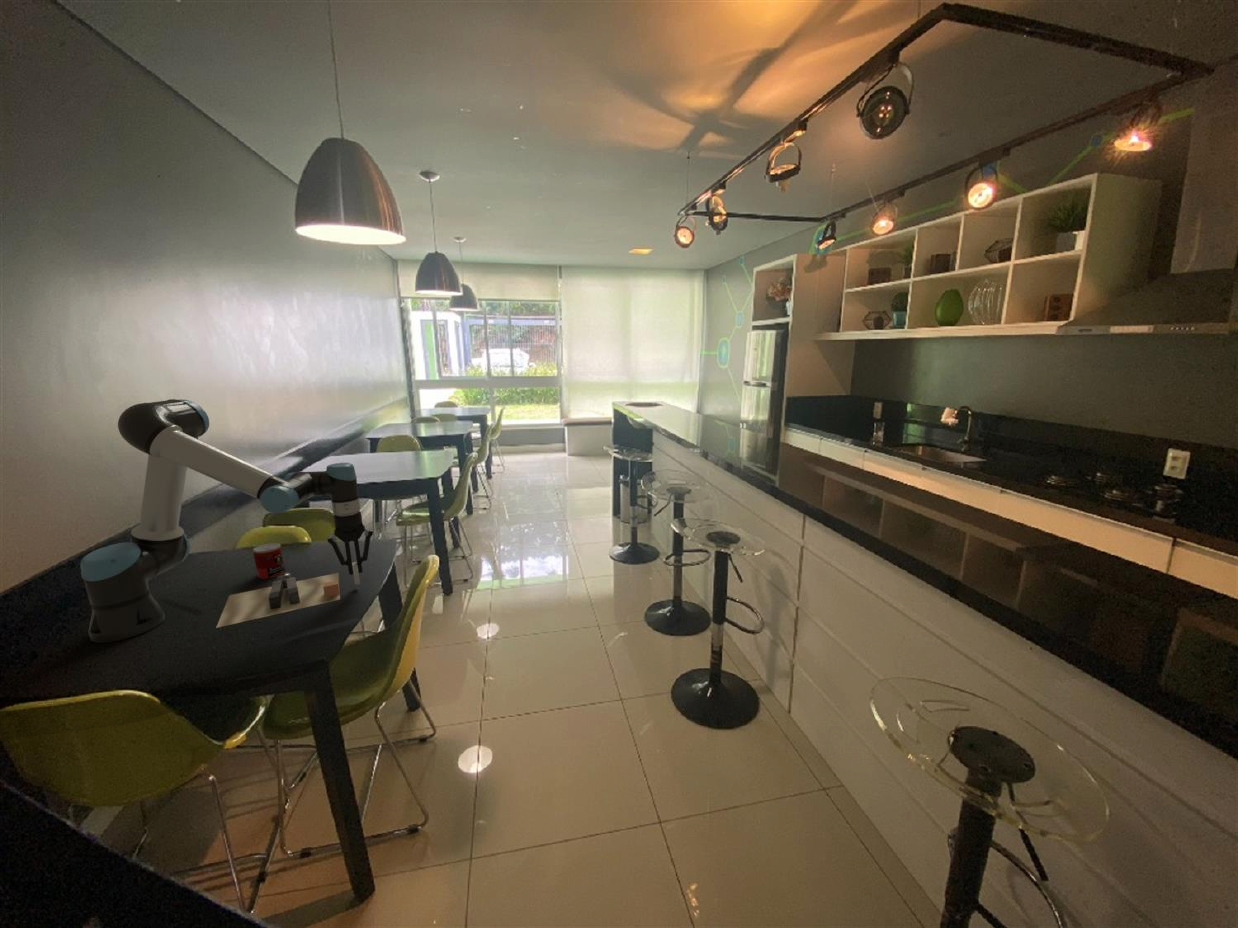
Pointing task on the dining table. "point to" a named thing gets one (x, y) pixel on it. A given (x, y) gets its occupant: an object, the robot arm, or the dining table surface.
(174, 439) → the robot arm
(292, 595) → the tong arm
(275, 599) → the tongs fixed
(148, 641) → the dining table surface
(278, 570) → the canned food
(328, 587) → the orange block
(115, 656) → the dining table surface
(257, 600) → the board
